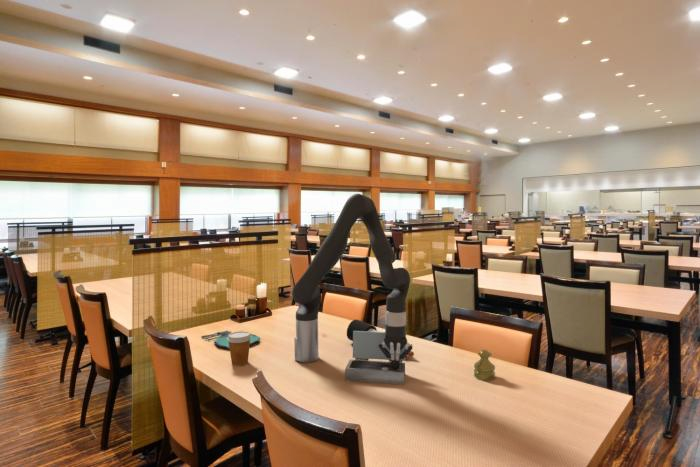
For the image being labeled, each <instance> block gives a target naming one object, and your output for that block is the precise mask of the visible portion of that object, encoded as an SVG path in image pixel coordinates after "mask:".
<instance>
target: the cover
mask: <svg viewBox="0 0 700 467" xmlns="http://www.w3.org/2000/svg"><path fill="white" fill-rule="evenodd" d="M384 338H385V332H383V331H379V332H367V331H353V341H352V358H353V359H354V360H368V361H369V360H380V361H388V362H391V359H390V358H387V357H386V356H385V355H384V353H383V352H382V351H381V349H380V348H379V347H378V345H379V343H380V342H383V341H384ZM385 348H386V349H387V350H388V352H389V353H390V354H391V351H390V349H389V348H388V347H387V345H386V344H385ZM404 351H405V346H404V348H403V349H402V350H401V351H400V355H401V354H402V353H403V352H404ZM395 358H396V351H395ZM405 361H406V357H405V358H404V359H400V360H399V362H402V363H403V362H405Z"/></svg>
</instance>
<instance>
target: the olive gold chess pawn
mask: <svg viewBox="0 0 700 467" xmlns="http://www.w3.org/2000/svg"><path fill="white" fill-rule="evenodd" d="M477 356H479V357H480V358H479V360H477V361H476V362H474V364H473V367H474V369H473V376H474V377H475V378H476V379H478V380H481V381H493V380H495V379H496V378H495V377H496V376H495V374H496V371H495V370H496V366H495V364H494V363H493V362H492V361H491V360H490V359H489V358H490V357H492V352H491V351H489V350H487V349H481V350H479V351H477Z"/></svg>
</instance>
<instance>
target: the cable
mask: <svg viewBox="0 0 700 467" xmlns="http://www.w3.org/2000/svg"><path fill="white" fill-rule="evenodd" d="M346 328H347V329H346V336H347V339H348V340H349V341H351V342H353V331H367V332H380V331H379V330H378V329H377V327H376V326H375V325H373V324H369V323H367V322H364V321H362V320H359V319H354V320H352V321H350V322H349V324H348V325H347V327H346ZM405 350H406V345H405ZM407 356H409V357H411V358H413V357H414V356H415V352H414V351H412V350H411V351H410V352H409V353H408V354H407Z"/></svg>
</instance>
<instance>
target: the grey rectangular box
mask: <svg viewBox="0 0 700 467" xmlns="http://www.w3.org/2000/svg"><path fill="white" fill-rule="evenodd" d="M383 366H387V367H390V368H392V367H391V362H389V361H386V360H369V359H368V360H355V359H349V361H348V362H347V364H346V366H345V368H344V374H345V375H344V381H345V382H357V383H358V382H359V383H360V382H361V383H370V384H371V383H374V384H389V385H405V376H406V362H403V361H402V362H399V369H397V370H393V368H392V370H378V368H379V367H383Z"/></svg>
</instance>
